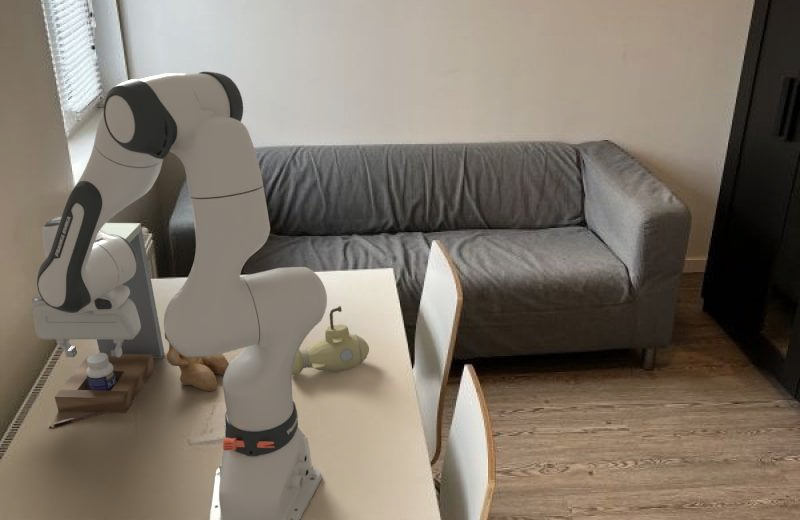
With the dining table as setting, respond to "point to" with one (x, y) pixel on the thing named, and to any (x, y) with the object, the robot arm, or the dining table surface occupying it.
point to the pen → (75, 419)
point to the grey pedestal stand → (137, 298)
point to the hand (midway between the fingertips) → (94, 355)
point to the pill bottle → (100, 372)
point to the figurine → (198, 368)
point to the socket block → (129, 383)
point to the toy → (333, 350)
